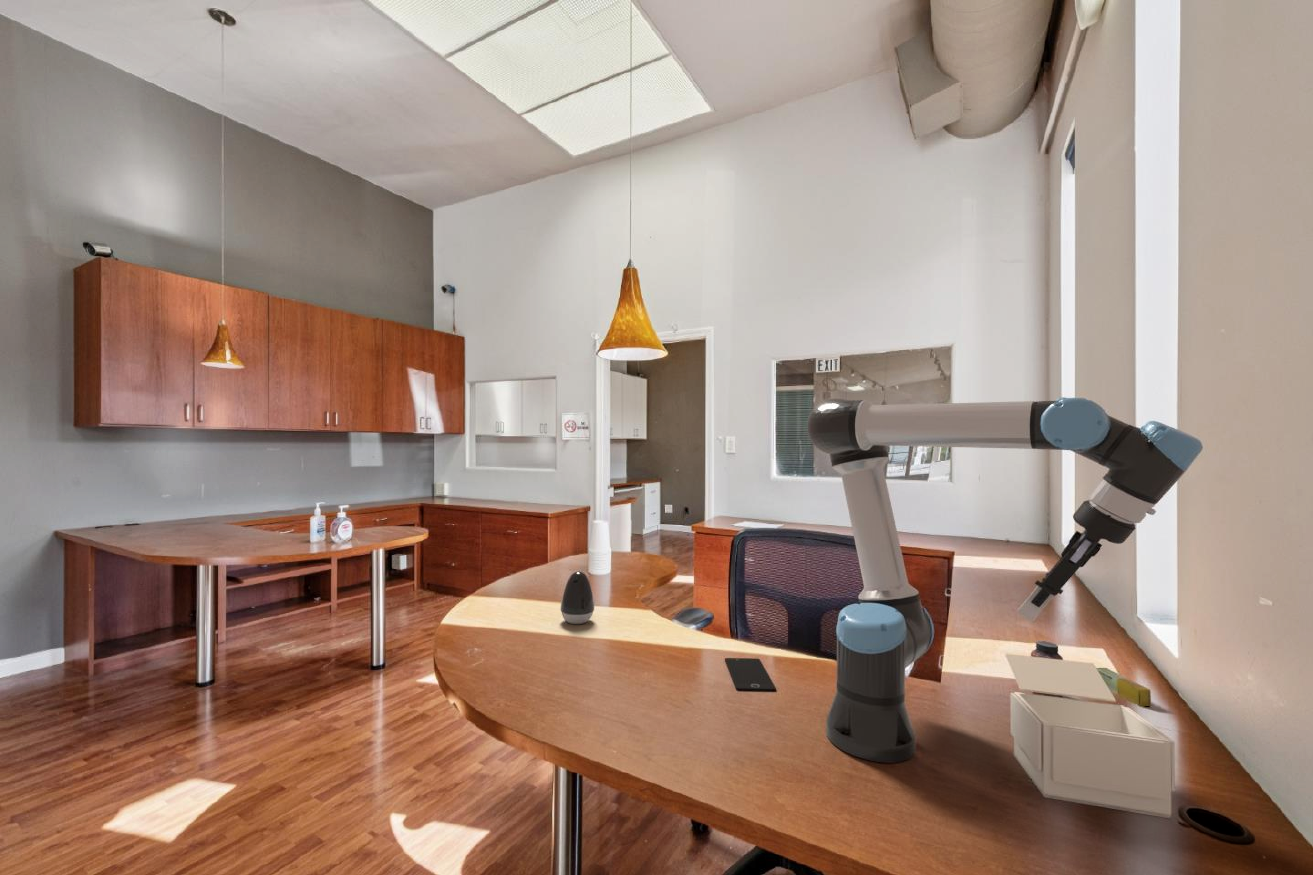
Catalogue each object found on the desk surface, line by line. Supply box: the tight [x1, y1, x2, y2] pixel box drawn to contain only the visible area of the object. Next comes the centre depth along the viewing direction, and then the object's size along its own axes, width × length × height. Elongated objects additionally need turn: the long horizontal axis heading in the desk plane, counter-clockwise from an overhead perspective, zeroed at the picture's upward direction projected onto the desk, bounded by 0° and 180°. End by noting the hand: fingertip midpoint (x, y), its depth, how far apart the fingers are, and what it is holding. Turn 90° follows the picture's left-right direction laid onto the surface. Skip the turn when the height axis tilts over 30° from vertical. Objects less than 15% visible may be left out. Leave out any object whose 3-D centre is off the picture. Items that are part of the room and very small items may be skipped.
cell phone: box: [724, 657, 777, 692], centre depth 126 cm, size 9×18×1 cm, turn 1°
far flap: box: [1005, 653, 1117, 703], centre depth 95 cm, size 14×8×1 cm, turn 75°
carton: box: [1010, 691, 1176, 819], centre depth 85 cm, size 17×13×11 cm
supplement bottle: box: [1030, 640, 1064, 698], centre depth 119 cm, size 6×6×11 cm
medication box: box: [1096, 667, 1152, 708], centre depth 120 cm, size 12×3×4 cm, turn 178°
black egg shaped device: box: [560, 570, 595, 625], centre depth 162 cm, size 10×10×15 cm
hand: (1025, 615), depth 97 cm, fingers closed
